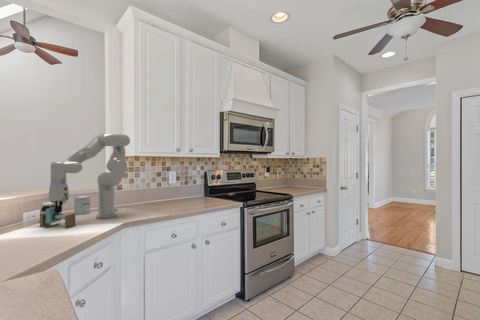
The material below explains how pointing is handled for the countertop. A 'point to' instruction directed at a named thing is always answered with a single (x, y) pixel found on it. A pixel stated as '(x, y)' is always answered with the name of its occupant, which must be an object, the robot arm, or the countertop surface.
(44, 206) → the spread jar
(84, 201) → the supplement box
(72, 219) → the brown wooden rack
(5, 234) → the countertop surface
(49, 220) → the teal flat block
